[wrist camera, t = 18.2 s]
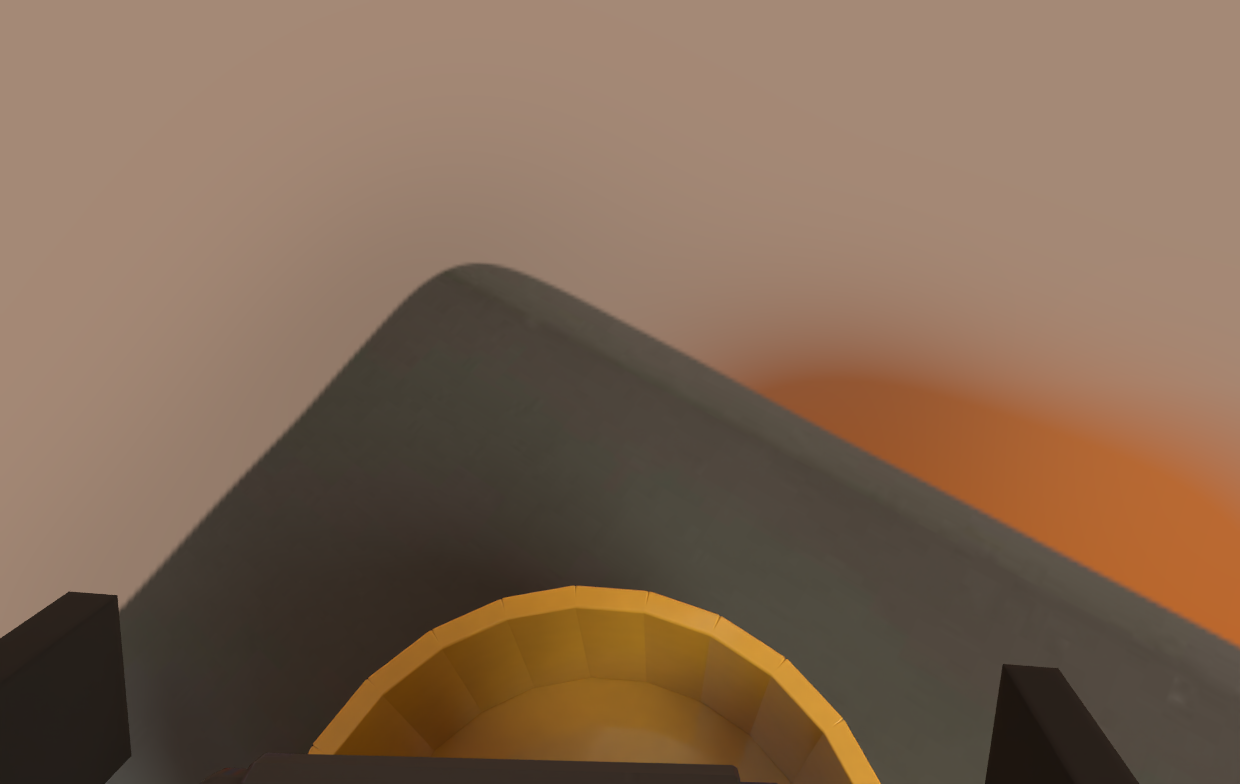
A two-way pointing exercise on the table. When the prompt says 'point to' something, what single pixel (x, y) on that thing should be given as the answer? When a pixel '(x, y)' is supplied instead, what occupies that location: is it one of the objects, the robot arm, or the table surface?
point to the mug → (600, 692)
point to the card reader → (465, 771)
